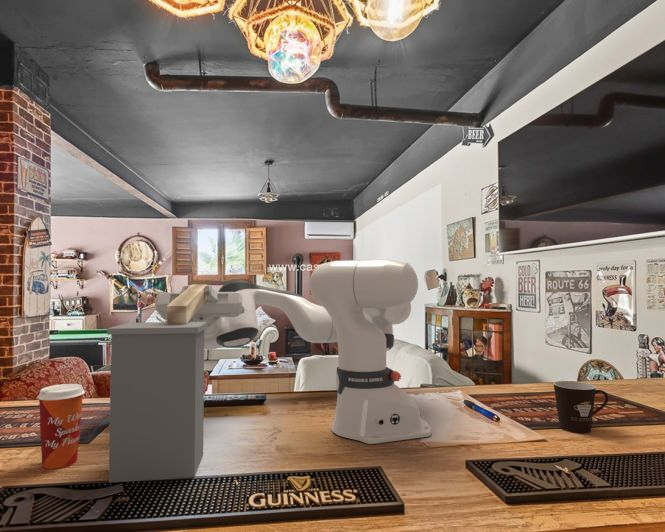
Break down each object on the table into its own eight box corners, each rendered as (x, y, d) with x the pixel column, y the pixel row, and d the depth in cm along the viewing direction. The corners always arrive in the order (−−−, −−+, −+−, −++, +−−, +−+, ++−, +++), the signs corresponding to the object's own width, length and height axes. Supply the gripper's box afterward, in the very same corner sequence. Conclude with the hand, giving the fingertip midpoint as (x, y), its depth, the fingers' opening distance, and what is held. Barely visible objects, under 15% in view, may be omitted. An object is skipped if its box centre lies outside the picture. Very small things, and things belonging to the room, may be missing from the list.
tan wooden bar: (207, 298, 105) (207, 284, 105) (186, 324, 83) (186, 305, 82) (192, 298, 105) (192, 284, 104) (167, 324, 82) (166, 306, 82)
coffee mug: (555, 432, 99) (555, 387, 99) (552, 421, 107) (551, 379, 107) (616, 439, 95) (615, 392, 95) (608, 427, 103) (607, 383, 103)
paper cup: (48, 475, 77) (50, 394, 78) (27, 465, 81) (29, 389, 82) (92, 460, 84) (93, 386, 84) (71, 451, 88) (72, 381, 88)
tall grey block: (206, 453, 87) (207, 321, 88) (196, 478, 76) (198, 327, 77) (126, 458, 85) (128, 322, 86) (104, 484, 74) (107, 328, 75)
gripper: (244, 325, 112) (242, 300, 101) (160, 326, 109) (148, 301, 98) (245, 303, 116) (243, 276, 104) (163, 304, 113) (152, 276, 101)
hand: (196, 288), depth 101 cm, fingers closed on tan wooden bar, 4 cm apart
